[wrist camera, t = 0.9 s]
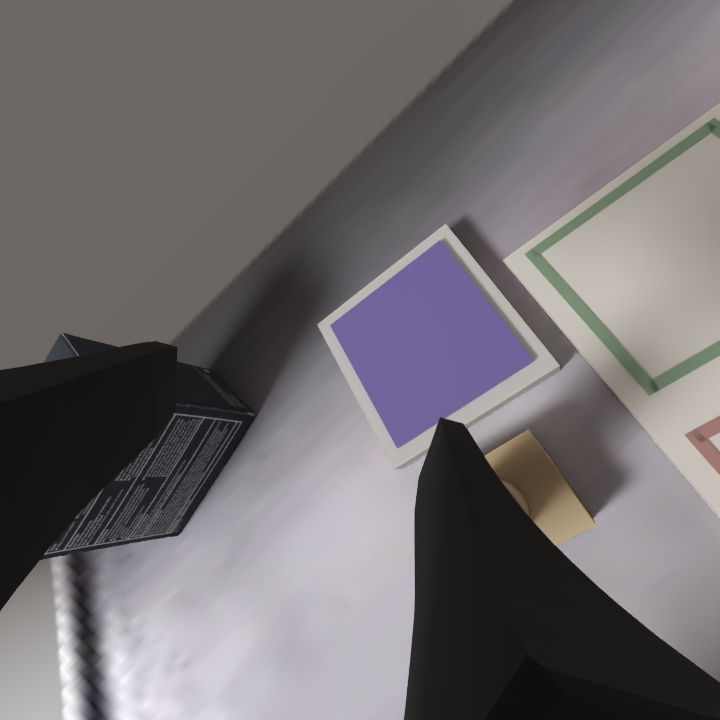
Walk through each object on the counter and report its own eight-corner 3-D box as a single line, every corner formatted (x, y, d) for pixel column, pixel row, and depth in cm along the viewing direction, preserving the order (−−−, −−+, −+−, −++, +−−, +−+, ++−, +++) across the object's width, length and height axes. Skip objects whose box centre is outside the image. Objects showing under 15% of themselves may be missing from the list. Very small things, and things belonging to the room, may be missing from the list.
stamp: (593, 518, 19) (612, 564, 10) (478, 576, 20) (415, 657, 12) (532, 432, 20) (507, 414, 12) (431, 492, 22) (348, 512, 14)
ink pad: (560, 370, 20) (559, 364, 19) (401, 469, 23) (391, 469, 21) (450, 233, 24) (444, 221, 23) (326, 329, 27) (314, 323, 26)
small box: (208, 364, 31) (57, 323, 22) (259, 414, 28) (109, 391, 19) (136, 478, 32) (-38, 485, 23) (178, 539, 29) (-4, 576, 20)
